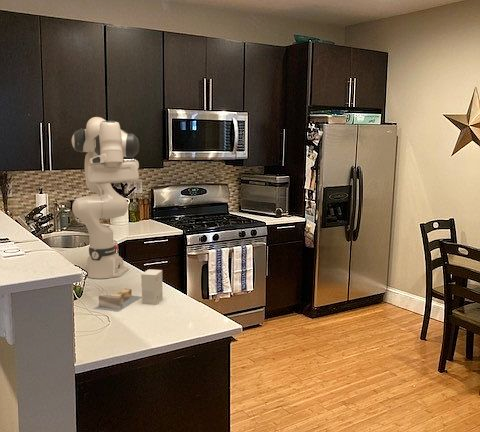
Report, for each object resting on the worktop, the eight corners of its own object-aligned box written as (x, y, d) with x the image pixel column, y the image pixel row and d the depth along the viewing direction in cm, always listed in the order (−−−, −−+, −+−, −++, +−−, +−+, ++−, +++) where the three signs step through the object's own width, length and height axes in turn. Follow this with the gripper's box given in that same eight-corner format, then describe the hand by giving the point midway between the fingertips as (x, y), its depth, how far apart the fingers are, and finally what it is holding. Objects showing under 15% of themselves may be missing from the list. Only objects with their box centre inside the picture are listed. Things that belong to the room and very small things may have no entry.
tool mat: (119, 295, 223) (119, 294, 223) (142, 298, 220) (142, 296, 220) (93, 310, 204) (93, 308, 204) (118, 313, 201) (118, 311, 201)
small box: (148, 299, 219) (148, 268, 217) (163, 300, 217) (162, 269, 215) (141, 305, 211) (140, 273, 209) (156, 306, 210) (156, 274, 208)
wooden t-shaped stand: (119, 295, 221) (118, 285, 220) (138, 297, 218) (138, 287, 217) (98, 306, 206) (98, 295, 205) (119, 309, 203) (118, 298, 203)
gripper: (138, 160, 215) (141, 193, 213) (87, 162, 211) (89, 196, 210) (138, 156, 208) (140, 191, 207) (85, 159, 205) (87, 194, 203)
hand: (114, 193), depth 208 cm, fingers open, 8 cm apart
